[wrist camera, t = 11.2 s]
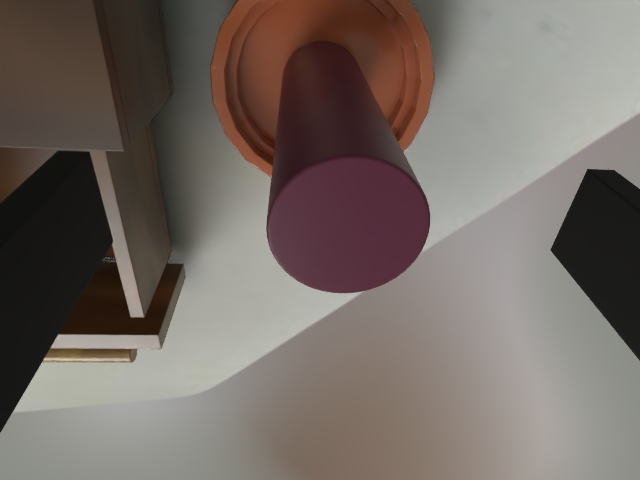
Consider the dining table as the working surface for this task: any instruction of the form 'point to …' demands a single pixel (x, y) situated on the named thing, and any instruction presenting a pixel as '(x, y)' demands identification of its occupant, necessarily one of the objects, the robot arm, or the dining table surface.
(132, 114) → the cabinet
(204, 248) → the dining table surface
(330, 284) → the dark purple cylinder
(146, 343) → the drawer
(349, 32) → the saucer
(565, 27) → the dining table surface
